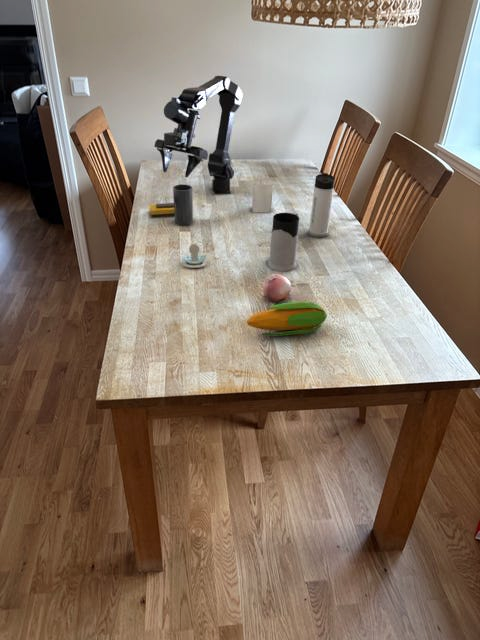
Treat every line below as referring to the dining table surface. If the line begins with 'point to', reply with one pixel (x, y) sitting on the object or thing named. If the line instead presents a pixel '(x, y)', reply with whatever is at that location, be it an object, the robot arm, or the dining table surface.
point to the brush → (162, 210)
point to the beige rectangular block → (262, 198)
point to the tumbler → (183, 204)
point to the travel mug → (321, 205)
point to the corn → (289, 318)
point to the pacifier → (194, 257)
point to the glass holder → (284, 241)
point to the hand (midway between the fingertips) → (175, 174)
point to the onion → (276, 288)
